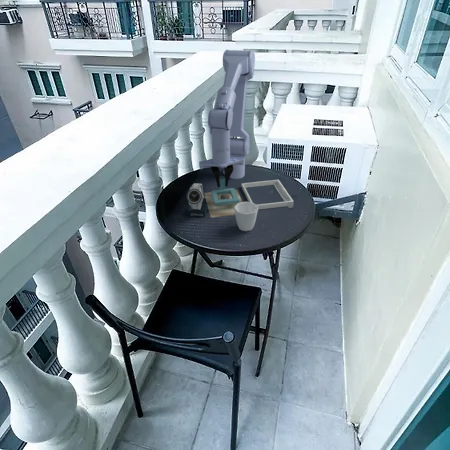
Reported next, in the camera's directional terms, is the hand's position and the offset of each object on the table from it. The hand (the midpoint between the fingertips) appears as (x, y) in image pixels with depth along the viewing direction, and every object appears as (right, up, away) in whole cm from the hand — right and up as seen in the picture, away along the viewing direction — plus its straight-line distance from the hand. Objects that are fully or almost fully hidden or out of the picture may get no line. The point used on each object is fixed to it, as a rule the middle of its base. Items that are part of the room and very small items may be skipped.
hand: (222, 185), depth 113 cm
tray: (+15, -4, +3) cm, 16 cm away
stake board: (+1, -7, -1) cm, 7 cm away
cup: (+7, -14, -11) cm, 20 cm away
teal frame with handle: (+1, -4, -3) cm, 5 cm away
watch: (-8, -11, -5) cm, 14 cm away
